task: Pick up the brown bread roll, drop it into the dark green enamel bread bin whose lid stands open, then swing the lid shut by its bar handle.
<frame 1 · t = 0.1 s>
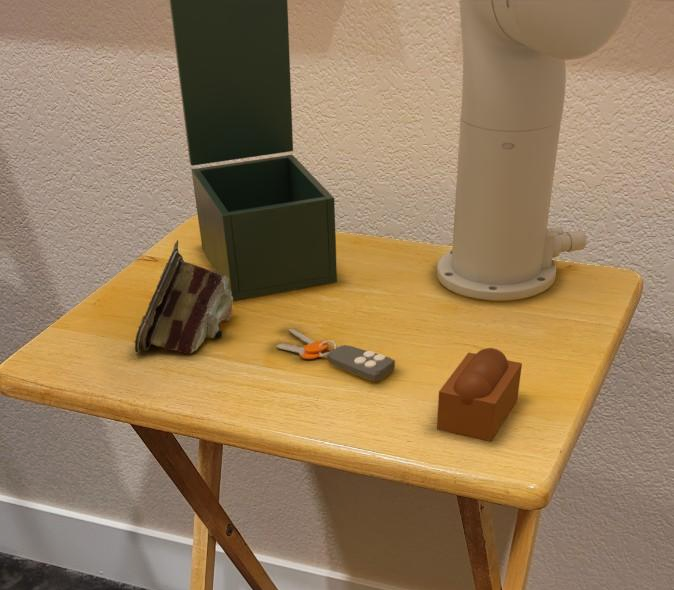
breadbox: (267, 265, 98), on the table
bread lid: (229, 71, 93), point 17 cm above the table, hinge at 85.0°
chocolate cake: (191, 334, 88), on the table
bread: (477, 414, 75), on the table
key chain: (331, 359, 83), on the table
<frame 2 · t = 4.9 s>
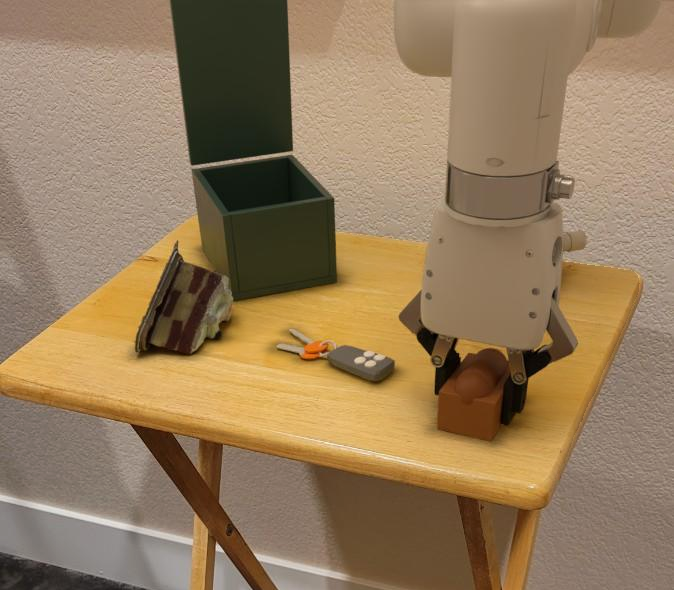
hand: (478, 408, 75), 1 cm above the table, tool pointing down, fingers closed on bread, 4 cm apart
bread: (477, 414, 75), on the table, touching gripper
everything else where it was.
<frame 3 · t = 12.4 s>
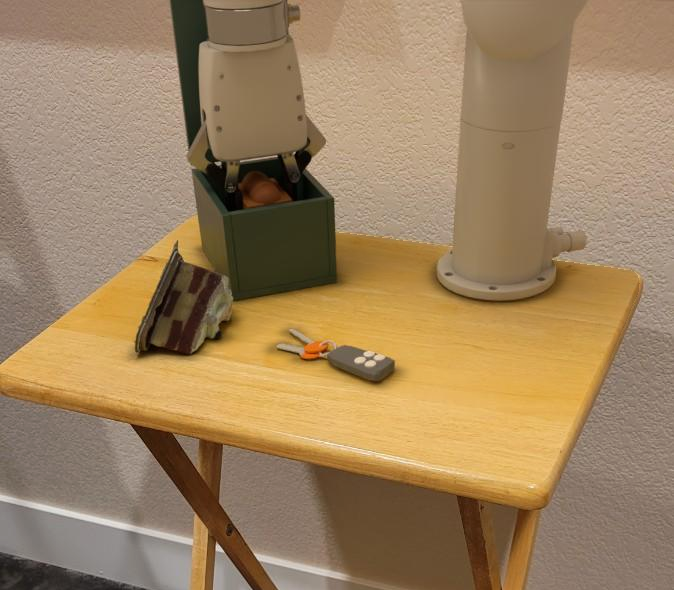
hand: (263, 220, 95), 5 cm above the table, tool pointing down, fingers closed on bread, 4 cm apart
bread: (264, 226, 95), point 4 cm above the table, touching gripper
everything else where it was.
when the fingers open (8 cm above the table, at t = 26.7 s): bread drops 7 cm, resting on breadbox.
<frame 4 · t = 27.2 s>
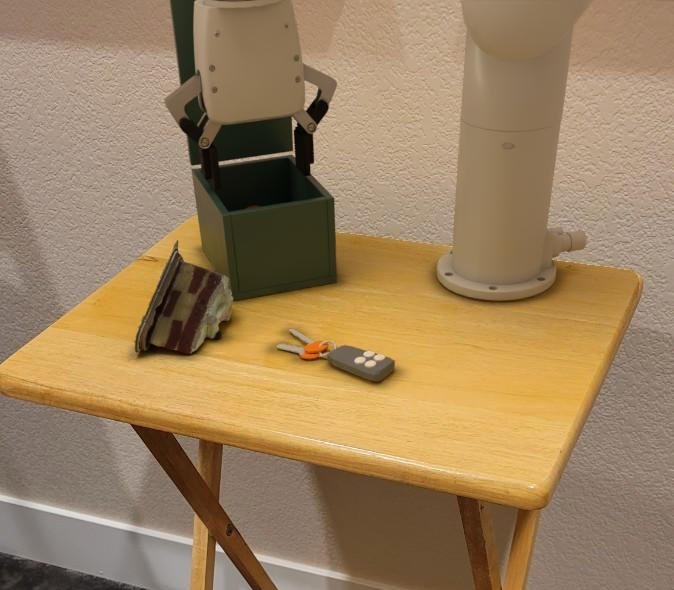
hand: (259, 178, 92), 9 cm above the table, tool pointing down, fingers open, 9 cm apart
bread: (262, 258, 98), point 1 cm above the table, touching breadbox
everything else where it was.
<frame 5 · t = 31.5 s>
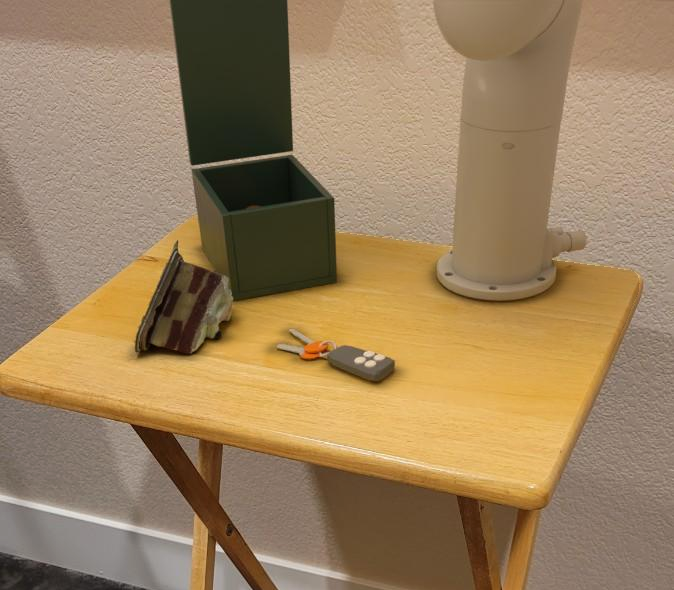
hand: (224, 31, 91), 21 cm above the table, tool pointing down, fingers closed on bread lid, 5 cm apart
bread lid: (229, 71, 93), point 17 cm above the table, hinge at 85.0°, touching gripper
everything else where it was.
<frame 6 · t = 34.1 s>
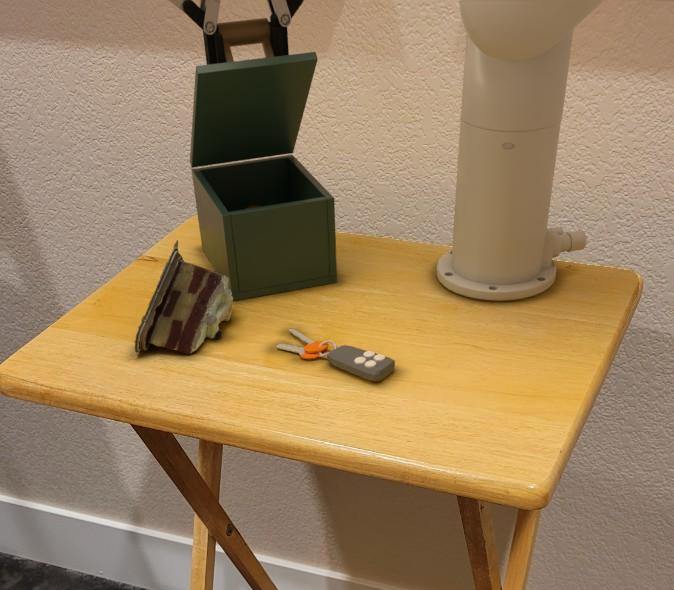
hand: (248, 73, 86), 19 cm above the table, tool pointing down, fingers closed on bread lid, 5 cm apart
bread lid: (242, 89, 90), point 17 cm above the table, hinge at 46.6°, touching gripper
everything else where it was.
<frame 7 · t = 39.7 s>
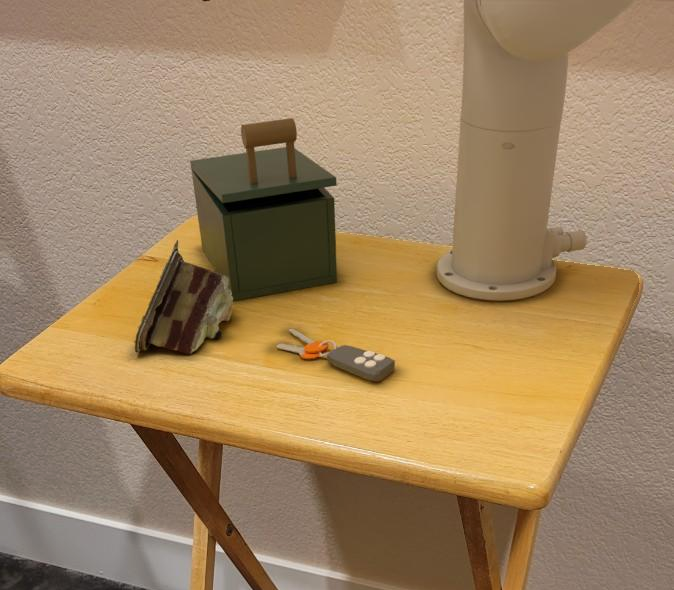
bread lid: (257, 145, 90), point 13 cm above the table, hinge at 5.1°
everything else where it was.
at the end: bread inside the target area in the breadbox (0.4 cm from its centre), point 0.8 cm above the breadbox's base; bread lid at +5° (first picture: +85°) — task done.
